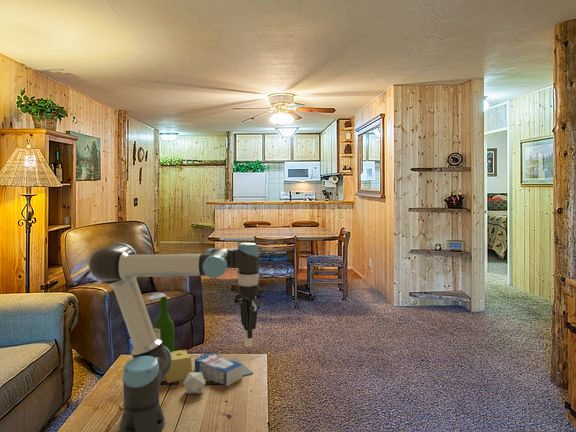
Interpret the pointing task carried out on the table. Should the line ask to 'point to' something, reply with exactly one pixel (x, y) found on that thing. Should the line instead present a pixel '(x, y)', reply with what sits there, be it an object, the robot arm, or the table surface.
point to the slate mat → (245, 369)
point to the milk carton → (219, 369)
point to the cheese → (179, 366)
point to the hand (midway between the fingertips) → (248, 345)
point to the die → (194, 383)
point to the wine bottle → (165, 326)
